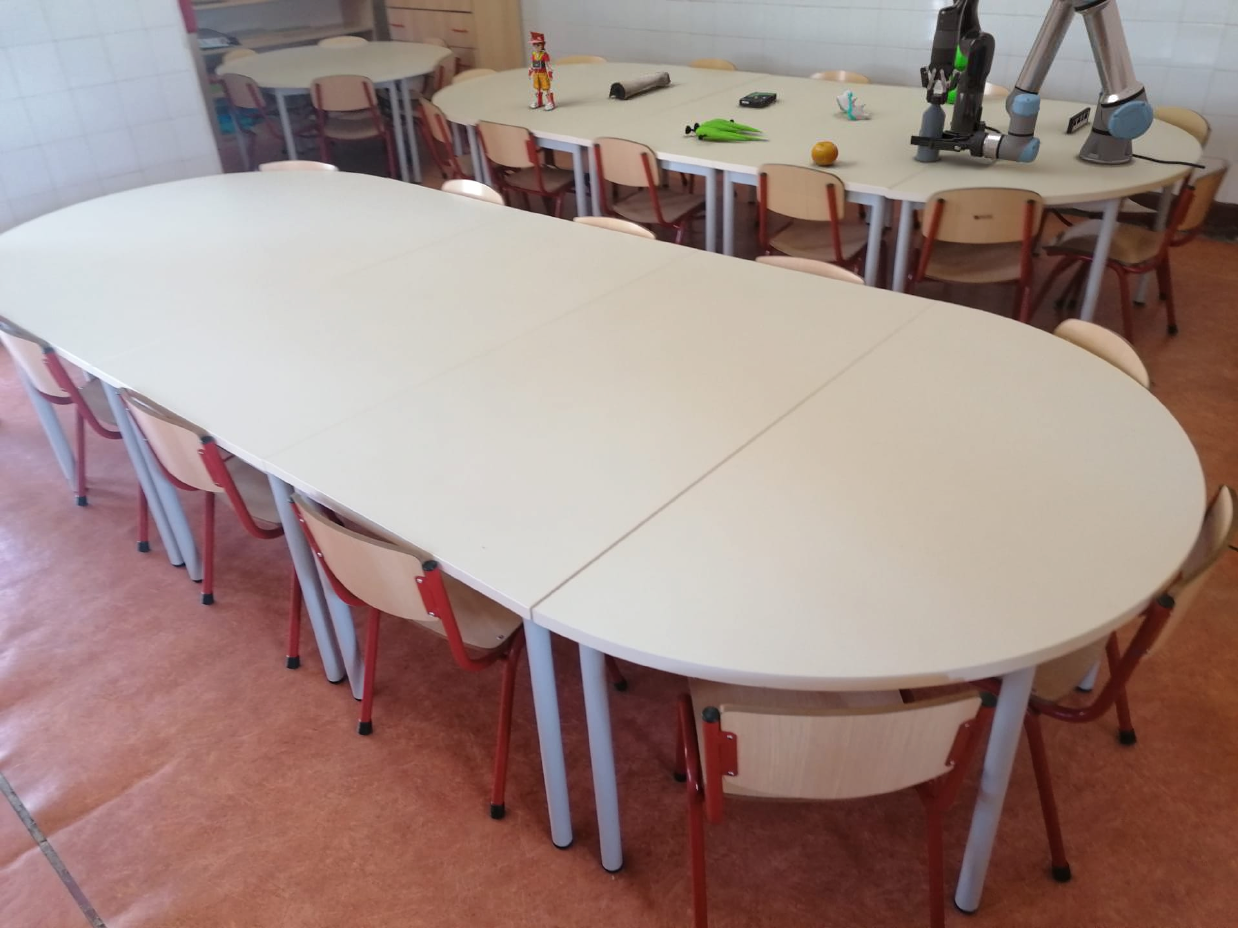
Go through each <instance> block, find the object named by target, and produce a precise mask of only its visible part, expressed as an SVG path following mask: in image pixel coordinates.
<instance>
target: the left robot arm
mask: <svg viewBox="0 0 1238 928" xmlns="http://www.w3.org/2000/svg"><path fill="white" fill-rule="evenodd" d="M979 3H980V0H952V5H948V6H944V7H941V8H940V9H939V10H938V13H937V19H936V25H935V31H934V35H933V39H932V47H931V52H930V53H931V54H930V62H929V64H928V65H926V66H925V65H924V66H922V67H920V68H919V73H920V80H921V87H922V88H925V89H926V96H925V100H926V103H929V104H931V103H930V96H931V94H934V93H935V86H936V84H937V82H938V81H940V83H941V86H942V92H941V94H942V95H941V101H940V105H941V106H943V105H946V103H948V102H947V100H948V94H949V91H952V90H955V89H956V87H957V90H956V96H955V103H953V110H952V115H951V121H950V123H949V126H950V129H949V131H955V132H961V133H969V134H972V133H973V134H975V133H976V132H986V130H988V131H991V132H993V133H998V134H1003V133H1002V132H1001V130H999V129H997V128H995V127H991V126H987V123H986V121H985V120H982V115H983V109H984V107H983V102H984V96H985V90H986V83H987V79H988V77H989V75H990V73H991V70H992V65H993V61H994V56H995V51H996V39H995V37H994V36H993V34H991V33H989V32H987V31H984V30H983V29H982V28H981V23H980V18H979V12H978V11H979ZM958 44H959V50H960V53H961V55H962V56H963V57H965V58H966V59H968V60H967V65H966V69H965V70H964V71H963V72H962V71H958V70H956V69H955V61H956V55H957V49H958ZM929 73H930V76H929ZM952 73H953V80H952V82H951V84H950V76H951V75H952Z"/></svg>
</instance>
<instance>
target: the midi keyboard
mask: <svg viewBox="0 0 1238 928" xmlns="http://www.w3.org/2000/svg"><path fill="white" fill-rule="evenodd" d="M1091 109H1092V107H1085V108H1084V109H1082V110H1081V111H1079V112H1078V113H1076V114H1075V115H1073V116H1071V117H1070V118H1069V120H1068V124H1067V128H1066V129H1067V130H1066V134H1072V132H1074V131H1075V130H1077V129H1079V128H1080V127H1081V126H1083V125H1085V124H1086V123H1088V122H1089V118H1090V113H1091Z"/></svg>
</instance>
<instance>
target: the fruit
mask: <svg viewBox="0 0 1238 928" xmlns="http://www.w3.org/2000/svg"><path fill="white" fill-rule="evenodd" d="M810 156H811V159H812V161H813V163H815V164H816V165H819V166H829V165H832V164H834V163H835V162H836V161H837V159H838V158H839V157H838V156H839V148H838V147H837V145H836V144H835V143H834V142H831V141H827V140H826V141H825V140H824V141H819V142H817V143H816V144H815V145H814V146H813V147H812V149H811V154H810Z"/></svg>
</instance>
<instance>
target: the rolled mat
mask: <svg viewBox="0 0 1238 928" xmlns="http://www.w3.org/2000/svg"><path fill="white" fill-rule="evenodd" d="M671 83H672V81H671V77H670V74H669V72H668V71H658V72H654V73H649V74H645V75H640V76H637V77H633V78H628V79H623V80H620V81H616V82H613V83H612V84H611V85H610V89H609V95H608V97H609V98H611V97H616V99H620V100H622V101H623V100H626V99H627V98H629V97H630V96H632V95H635V94H636V93H638V92H640V91H643V90H644V89H647V88H650V87H655V86H658V87H659V86H661V87H665V86H669V85H670V84H671Z"/></svg>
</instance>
